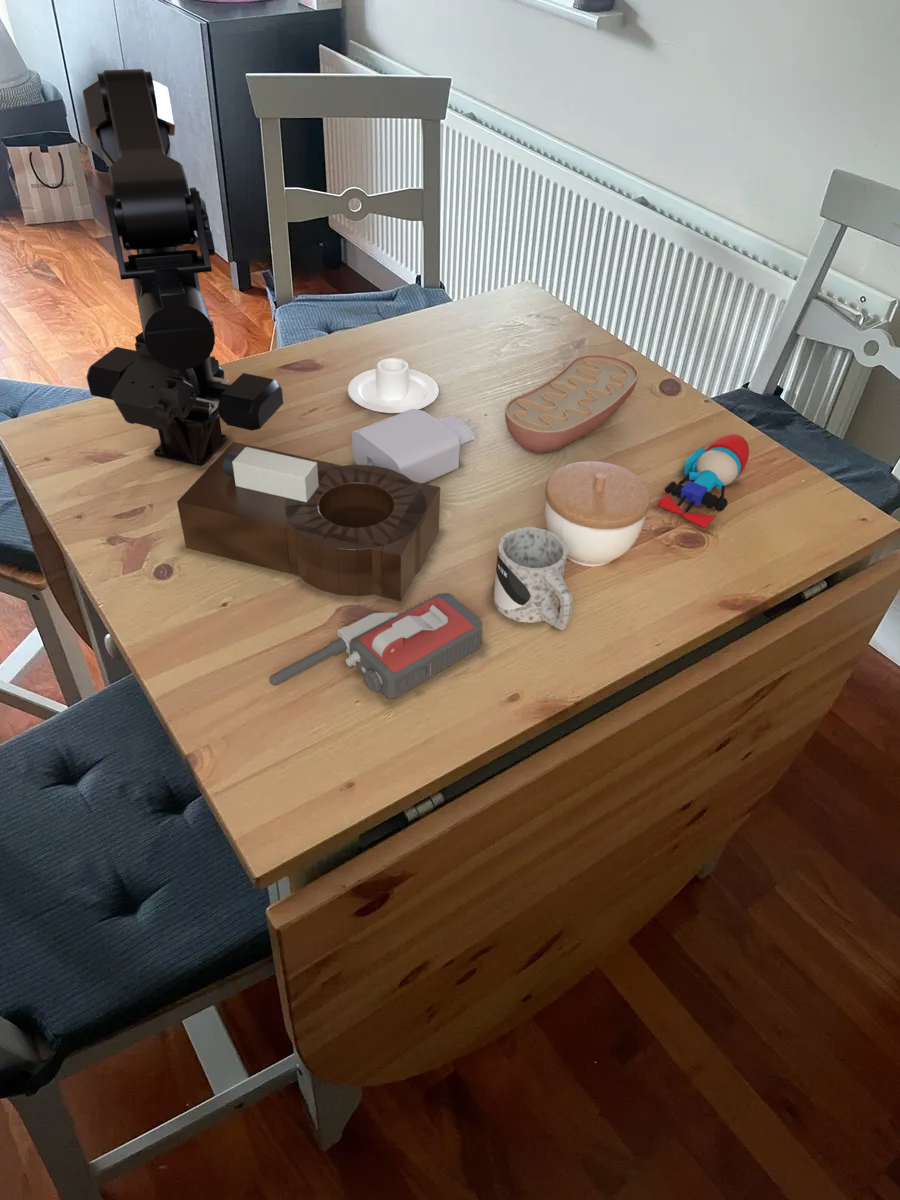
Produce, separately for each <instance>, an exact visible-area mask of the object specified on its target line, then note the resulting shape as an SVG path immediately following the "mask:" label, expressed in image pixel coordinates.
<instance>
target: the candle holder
mask: <svg viewBox="0 0 900 1200" xmlns="http://www.w3.org/2000/svg"><path fill="white" fill-rule="evenodd" d="M375 367H376V368H373V369H369V370H366V371H363V372H361V373H359V374H357V375H356V376H354V377H353V378H352V379H351V380H350V382H349V383H348V385H347V394H348V396H349V397H350V400H352V401H353V402H354V403H355V404H357V405H359V406H360V407H362V408H365V409H367V410H370V411H375V412H379V413H384V414H386V413H387V414H400V413H403V412H405V411H408V410H411V409H417V410H421V409H424V408H426V407H428V406H429V405H432V404H433V402H435V400H436V399H437V398H438V396H439V393H440V391H439V390H440V389H439V386H438V384H437V382H436V381H435V380H434V378H432V377H431V376H429V375H427V374H426V373H424V372H421V371H418V370H415V369H412V368H409V364H408V362H406V361H405V360H404V359H401V358H397V357H387V358H382V359H381V360H379V361H378V362H377V363H376V365H375Z"/></svg>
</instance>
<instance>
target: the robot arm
mask: <svg viewBox="0 0 900 1200" xmlns="http://www.w3.org/2000/svg"><path fill="white" fill-rule="evenodd" d="M96 74H97V79H98V80H96V81H95V82H94V83H92V84H90V85H89V86H87V87H86V88H85V89H83V90H82V97H83V100H84V106H85V111H86V115H87V116H86V117H87V121H88V126H89V131H90V134H91V138H92V140H93V141H95V140H96V141H97V140H98V141H99V143H100V148H101V153H102V156H103V160H104V162H105V164H106V165H107V166H108V167H109V168H108V176H109V180H110V181H109V182H110V186H111V191H112V192H104V193H103V195H104V201H105V206H106V211H107V216H108V221H109V225H110V226H109V227H110V233H111V236H112V242H113V247H114V251H115V257H116V261H117V266H118V272H119V277H120V280H121V281H122V280H123V281H124V280H132V283H133V288H134V292H135V298H136V303H137V308H138V312H139V319H140V324H141V330H142V331H141V332H140V333H138V334H137V335H136V336H135V343H134V347H135V350H134V349H130V348H125V347H120V346H115V347H114V348H112V349H111V350H110V351H109V352H107V353H106V354H104V355H103V356H102V357H100V358H99V359H98V360H96V361H95V362H93V364H91V365H90V366H89V367H88V369H87V373H86V376H85V378H86V381H87V386H88V389H89V392H90V395H91V396H94V397H98V398H101V399H107V400H111V401H113V402H114V404H115V405H116V407H117V409H118V411H119V413H120V414H121V416H122V418H123V420H124V421H125V422H126V423H128V424H132V425H135V424H137V425H141V426H146V427H149V428H151V429H154V430H157V431H158V436H159V445H158V446H157V447H156V448H154V450H153V454H154V456H155V457H160V458H164V459H169V460H172V461H175V462H181V463H186V464H189V465H190V464H191V465H193V466H199V467H200V466H203V465H205V464H206V463H207V462H208V461H209V460H210V459H211V458H212V457H213V456H214V455H215V454H216V453H217V452H218V450H219V449H220V448H221V447H222V446H223V445H224V444H225V443H226V442H228V437H227V435H226V434H223V432H222V425H221V420H222V421H223V422H224V423H225V424H226V425H227V426H229V427H235V428H239V429H243V430H247V431H256V430H260V429H261V428H262V427H264V425H265V424H266V423H267V422H268V421H269V420H270V419H271V417H273V416H274V414H276V413H277V411H278V410H280V408H281V407H282V406H283V405H284V395H283V388H282V386H281V385H280V382H278V381H277V380H276V379H274V378H270V377H265V376H260V375H255V374H251V373H245V372H242V373H241V374H240V375H239V376H238V377H237V378H236V379H235V380H234V381H233V382H232V383H231V384H229V380H228V379H226V378H225V371H224V368H223V367H221V366H220V363H219V360H218V359H216V356H215V355H211V354H212V353H213V351H214V347H215V343H216V334H215V329H214V322H213V320H211V317H210V313H209V311H208V310H209V309H208V307H207V305H206V301H205V298H204V295H203V294H202V292H201V286H200V279H199V273H201V274H202V273H210V272H213V270H212V269H213V268H212V263H211V257H212V256H216V248H215V243H214V238H213V234H212V228H211V223H210V219H209V214H208V209H207V204H206V201H205V200H204V199H203V198H202V197H201V196H200V195H201V194H200V190H197V187H196V186H194V187H193V186H192V187H189V183H188V179H187V176H186V174H185V173H186V172H185V170H184V165H183V164H182V163H181V162H180V161H177V160H175V159H174V158H172V157H171V139H170V137H172V136H173V137H174V136H175V130H176V125H175V120H174V119H175V118H174V113H173V107H172V102H171V96H170V91H169V87H168V86H166V85H164V84H162V83H160V82H159V81H157V80H155V79H153V75H152V72H151V71H146V70H144V69H143V68H133V69H132V68H131V69H104V70H103V71H102V73H101V72H100V73H99V72H98V73H96ZM195 233H196V234H195ZM196 236H197V239H196ZM120 238H121V239H120ZM121 241H122V244H121ZM197 242H198V247H199V251H200V255H199V254H198V250H197V249H185V250H183V249H182V248H181V247H185V246H195V244H196V243H197ZM122 246H123V249H124V250H125V251H136V254H128V255H127V260H128V261H124V260H125V259H124V254H123V249H122Z"/></svg>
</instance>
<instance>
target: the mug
mask: <svg viewBox="0 0 900 1200" xmlns="http://www.w3.org/2000/svg"><path fill="white" fill-rule="evenodd" d="M567 554H568V550H567V546H566V544H565V543H564V541H563V540H562V539H561V538H560V537H559V536H557V535H556V534H554V533H552V532H550V531H547V529H544V528H540V527H533V526H532V527H531V526H528V527H527V526H525V527H519V528H515V529H513V530H509V531H507V532H506V533H505V534H503V536H502V537H501V538H500V540H499V542H498V546H497V556H496V567H495V577H494V587H493V604H494V606H495V608H496V609H497V611H499V613H501V614H502V615H503V616H505V617H506V618H508V619H510V620H512V621H515V622H520V623H529V624H530V623H539V622H543V621H544V622H545V623H547V624H549V625H551V626H552V627H554V628H556V629H558V630H560V631H564V630H565V629H566V628H567V627H568V625H569V623H570V621H571V618H572V614H573V602H574V601H573V595H572V593H571V591H570V590H569V588H568V586H567V584H566V583H565V580H564V579H565V578H564V577H565V572H566V566H567V561H568V559H567Z"/></svg>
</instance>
